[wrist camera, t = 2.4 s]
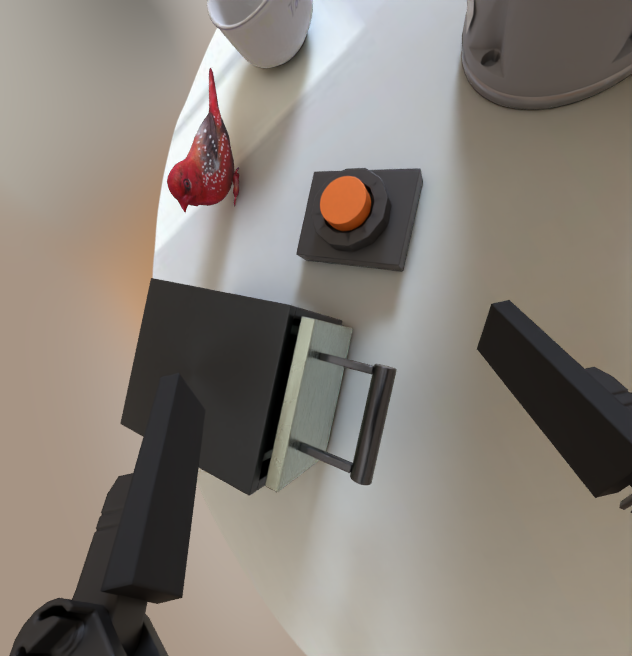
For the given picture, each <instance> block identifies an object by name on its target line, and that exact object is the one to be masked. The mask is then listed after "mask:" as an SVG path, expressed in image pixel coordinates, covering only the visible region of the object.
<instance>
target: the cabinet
mask: <svg viewBox="0 0 632 656" xmlns="http://www.w3.org/2000/svg"><path fill="white" fill-rule="evenodd" d="M302 316H303V317H308V318H313V319H317V320H321V321H325V322H329V323H333V324H337V325H341V323H342V320H339V319H335V318H332V317H329V316H325V315H322V314H318V313H315V312H312V311H308V310H305V309H302V308H298V307H295V306H292V305H287V304H282V303H277V302H272V301H267V300H261V299H256V298H251V297H246V296H241V295H236V294H231V293H225V292H220V291H215V290H210V289H205V288H200V287H195V286H190V285H184V284H179V283H174V282H169V281H164V280H159V279H154V278H151V281H150V286H149V291H148V295H147V301H146V305H145V310H144V314H143V319H142V324H141V329H140V333H139V338H138V343H137V348H136V353H135V358H134V362H133V367H132V372H131V376H130V381H129V386H128V390H127V396H126V400H125V405H124V410H123V414H122V419H121V424H122V425H124V426H125V427H127V428H129V429H131V430H133V431H134V432H136V433H138V434H140V435H142V436H143V437H144V433H145V430H146V426H147V423H148V419H149V416H150V412H151V409H152V405H153V402H154V398H155V394H156V391H157V387H158V384H159V380H160V377H163V376H168V375H172V374H177V373H180V375H181V376H182V378H183V379H184V380H185V382H186V383H187V385H188V386H189V387H190V389H191V390H192V392H193V393H194V394H195V396H196V397H197V399H198V400H199V401H200V403H201V404H202V406H203V407H204V408H205V410H206V411H205V419H204V427H203V435H202V443H201V451H200V459H199V468H201V469H202V470H204V471H206V472H208V473H210V474H211V475H213V476H215V477H217V478H219V479H220V480H222V481H224V482H226V483H228V484H229V485H231V486H233V487H235V488H237V489H238V490H240V491H242V492H244V493H245V494H247V495H251V494H253V493H254V492H256V491H257V490H259V489H260V488H262V487H263V486H265V482H266V478H267V473H268V469H269V464H270V459H271V458H269V459H267V460H265V461H263V459H264V454H265V449H266V445H267V440H268V435H269V431H270V426H271V422H272V417H273V412H274V408H275V403H276V399H277V394H278V389H279V385H280V380H281V375H282V371H283V366H284V362H285V357H286V352H287V348H288V343H289V339H290V334H291V329H292V325H293V323H294V324H298V325H300V321H301V317H302Z"/></svg>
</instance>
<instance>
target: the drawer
mask: <svg viewBox="0 0 632 656" xmlns="http://www.w3.org/2000/svg"><path fill="white" fill-rule="evenodd" d="M352 331H353V329H352V328H349V327H345V326H341V325H337V324H333V323H329V322H325V321H321V320H317V319H313V318H308V317H303V316H302V317H301V321H300V325H298V324H294V323H293V325H292V329H291V334H290V339H289V343H288V348H287V352H286V357H285V362H284V366H283V371H282V375H281V380H280V385H279V389H278V394H277V399H276V403H275V408H274V412H273V417H272V422H271V426H270V431H269V435H268V440H267V445H266V449H265V454H264V459H263V461H265V460H267V459H269V458H271V459H270V464H269V469H268V473H267V478H266V482H265V486H266V487H268V488H270V489H272V490H274V491H276V492H279V491H280V490H281V489H282V488H284V487H285V486H286V485H288V484H289V483H290V482H292V481H293V480H294V479H296V478H297V477H298V476H299V475H301V474H302V473H303V472H305V471H306V470H307V469H309V468H310V467H311V466H313V465H314V464H315V463H316V462H318V461H319V460H321V461H323V462H325V463H328V464H330V465H332V466H335V467H337V468H339V469H341V470H344V471H346V472H348V473H350V472H351V474H350V477H351V479H352V480H353V481H355V482H356V483H358V484H361V485H370V484H371V483H372V478H373V474H374V469H375V465H376V460H377V456H378V451H379V447H380V442H381V438H382V433H383V429H384V424H385V420H386V415H387V411H388V406H389V402H390V397H391V393H392V388H393V384H394V379H395V375H396V369H395V368H393V367H389V366H385V365H380V364H375V365H374V366H372V365H368V364H365V363H361V362H357V361H353V360H349V359H346V358H347V354H348V349H349V344H350V340H351V335H352ZM344 367H347V368H350V369H354V370H358V371H361V372H365V373H369V374H372V379H371V383H370V388H369V392H368V397H367V401H366V406H365V410H364V415H363V420H362V424H361V429H360V433H359V438H358V442H357V447H356V451H355V456H354V460H353V463H352V462H349V461H347V460H344V459H342V458H340V457H337V456H335V455H332V454H330V453H328V452H326V449H327V445H328V440H329V436H330V431H331V427H332V422H333V417H334V413H335V408H336V404H337V399H338V395H339V390H340V385H341V381H342V376H343V372H344Z"/></svg>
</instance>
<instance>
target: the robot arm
mask: <svg viewBox="0 0 632 656" xmlns="http://www.w3.org/2000/svg"><path fill="white" fill-rule="evenodd" d="M462 63H463V68H464V71H465V74H466V76H467V78H468V80H469V82H470V83H471V85H472V86H473V88H474V89H475V90H476V91H477V92H478V93H480V94H481V95H482V96H483V97H485V98H486V99H488V100H490V101H492V102H494V103H496V104H499V105H502V106H506V107H511V108H517V109H545V108H552V107H558V106H562V105H567V104H570V103H574V102H577V101H580V100H583V99H585V98H588V97H591V96H593V95H595V94H597V93H600V92H602V91H604V90H606V89H608V88H610V87H612V86H613V85H615V84H617V83H618V82H620V81H622V80H623V79H625V78H626V77H628V76H629V75H631V74H632V0H467V12H466V16H465V22H464V27H463V33H462ZM477 350H478V351H479V352H480V353H481V355H482V356H483V357H484V358H485V360H486V361H487V362H488V363H489V365H490V366H491V367H492V369H493V370H494V371H495V372H496V374H497V375H498V376H499V377H500V379H501V380H502V381H503V382H504V384H505V385H506V386H507V387H508V389H509V390H510V391H511V392H512V394H513V395H514V396H515V398H516V399H517V400H518V401H519V403H520V404H521V405H522V406H523V408H524V409H525V410H526V411H527V413H528V414H529V415H530V416H531V418H532V419H533V420H534V421H535V423H536V424H537V425H538V426H539V428H540V429H541V430H542V432H543V433H544V434H545V435H546V437H547V438H548V439H549V440H550V442H551V443H552V444H553V445H554V447H555V448H556V449H557V450H558V452H559V453H560V454H561V455H562V457H563V458H564V459H565V460H566V462H567V463H568V464H569V466H570V467H571V468H572V469H573V471H574V472H575V473H576V474H577V476H578V477H579V478H580V479H581V481H582V482H583V483H584V484H585V486H586V487H587V488H588V489H589V491H590V492H591V493H592V494H593V496H594V497H595V498H597V497H601V496H605V495H609V494H613V493H618V492H620V491H621V490H623V489H624V488H626V487H627V486H629V485H630V486H631V487H632V393H629V392H628V389H627V388H625V387H624V386H623V385H622V384H621V383H620V382H618V381H617V380H616V379H615V378H614V377H612V376H611V375H609V374H607V373H605V372H603V371H601V370H599V369H598V368H596V367H591V368H586V369H584V368H583V367H582V366H581V365H580V364H579V363H578V362H576V361H575V360H574V359H573V358H572V357H571V356H570V355H569V354H568V353H567V352H566V351H564V350H563V349H562V348H561V347H560V346H559V345H558V344H557V343H556V342H555V341H553V340H552V339H551V338H550V337H549V336H548V335H547V334H546V333H545V332H544V331H543V330H541V329H540V328H539V327H538V326H537V325H536V324H535V323H534V322H533V321H532V320H531V319H529V318H528V317H527V316H526V315H525V314H524V313H523V312H522V311H521V310H520V309H519V308H517V307H516V306H515V305H514V304H513V303H512V302H511V301H510V300H507V301H502V302H498V303H493V304H491V307H490V310H489V313H488V316H487V319H486V322H485V326H484V329H483V332H482V335H481V338H480V341H479V344H478V347H477ZM205 411H206V410H205V408H204V407H203V406H202V404H201V403H200V401H199V400H198V399H197V397H196V396H195V394H194V393H193V392H192V390H191V389H190V387H189V386H188V385H187V383H186V382H185V380H184V379H183V378H182V376H181V375H180V373H177V374H172V375H168V376H163V377H160V380H159V384H158V387H157V391H156V394H155V398H154V402H153V405H152V409H151V412H150V416H149V419H148V423H147V426H146V430H145V433H144V438H143V441H142V444H141V448H140V451H139V455H138V459H137V462H136V465H135V469H134V473H131V474H127V475H123V476H119V477H118V478H117V480H116V481H115V483H114V485H113V487H112V488H111V489H110V491H109V492H108V494H107V497H106V500H105V503H104V506H103V509H102V512H101V513H102V515H101V516H100V518H99V521H98V524H97V527H96V529H97V531H96V532H95V533H94V536H93V539H92V542H91V545H90V548H89V551H88V554H87V557H86V561H85V564H84V567H83V570H82V573H81V576H80V579H79V582H78V585H77V588H76V591H75V593H74V596H73V598H72V600H69V599H63V598H57V599H54V600H51V601H49V602H47V603H46V604H44V605H43V606H42V607H40V608H39V609H38V610H36V611H35V612H34V613H33V615H32V616H31V617H30V618H29V619H28V620H27V622H26V623H25V624H24V625H23V627H22V629H21V630H20V632H19V634H18V636H17V637H16V639H15V641H14V644H13V647H12V650H11V653H10V656H168V654H167V652H166V650H165V648H164V646H163V644H162V642H161V640H160V638H159V637H158V635H157V632H156V631H155V629H154V627H153V625H152V623H151V621H150V619H149V617H148V616H147V615H146V614H145V612H146V606H147V602H151V603H156V604H158V603H163V602H167V601H170V600H175V599H179V598H182V595H183V586H184V579H185V570H186V563H187V555H188V547H189V539H190V531H191V523H192V515H193V507H194V499H195V491H196V483H197V475H198V467H199V459H200V451H201V443H202V435H203V427H204V419H205ZM630 506H632V494H631V495H629V496H628V497H626V498H625V499H623V500H622V501H621V503H620V508H621V509H623V510H625V509H626V508H628V507H630ZM631 513H632V511H631Z"/></svg>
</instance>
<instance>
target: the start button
mask: <svg viewBox="0 0 632 656" xmlns="http://www.w3.org/2000/svg"><path fill="white" fill-rule="evenodd" d="M370 209H371V198H370V195H369V193H368V191H367V190H366V188H365V186H364V184H363V183H362V182H361V181H360V180H359V179H358V178H356V177H352V176H343V177H340V178H337V179H335V180H334V181H332V182H331V183H330V184H329V185H328V186H327V187H326V189H325V190H324V192H323V194H322V196H321V200H320V210H321V213H322V215H323V217H324V218H325V219H326V221H327V222H328V223H329V224H330V225H331V226H332V227H334V228H335V229H337V230H340V231H350V230H353V229H355V228H357V227H359V226H360V225H361V224H362V223H363V222H364V221H365V220H366V218H367V217H368V215H369V213H370Z"/></svg>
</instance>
